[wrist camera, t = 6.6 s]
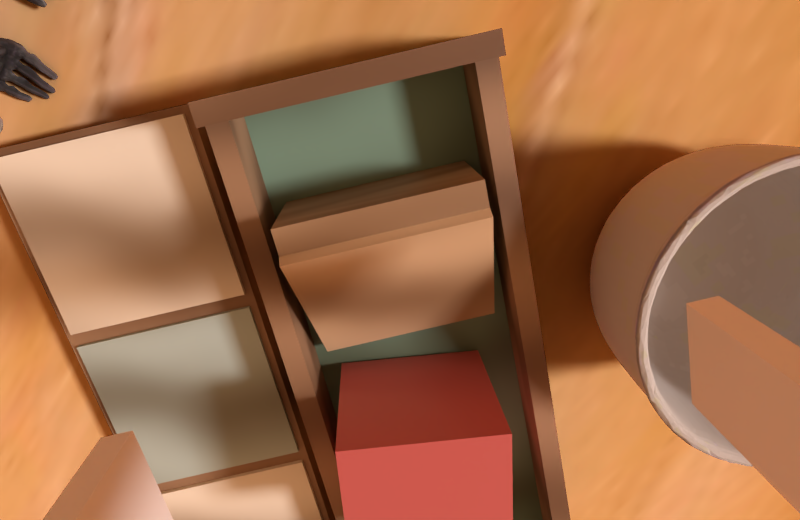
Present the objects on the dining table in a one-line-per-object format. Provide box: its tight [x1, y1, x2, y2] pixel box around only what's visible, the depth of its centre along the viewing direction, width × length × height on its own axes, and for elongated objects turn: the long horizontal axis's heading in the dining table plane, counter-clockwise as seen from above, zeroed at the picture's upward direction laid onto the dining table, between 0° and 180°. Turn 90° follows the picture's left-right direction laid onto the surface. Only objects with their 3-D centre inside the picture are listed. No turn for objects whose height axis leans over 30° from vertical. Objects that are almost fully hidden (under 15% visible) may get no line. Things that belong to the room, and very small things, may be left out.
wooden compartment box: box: [0, 28, 570, 520], centre depth 23 cm, size 24×19×5 cm
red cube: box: [335, 350, 513, 520], centre depth 23 cm, size 6×6×6 cm
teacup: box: [590, 144, 800, 466], centre depth 21 cm, size 14×11×8 cm
